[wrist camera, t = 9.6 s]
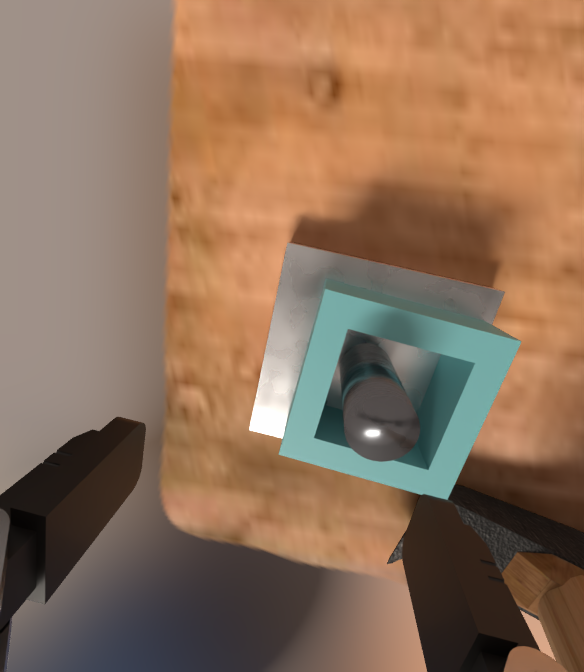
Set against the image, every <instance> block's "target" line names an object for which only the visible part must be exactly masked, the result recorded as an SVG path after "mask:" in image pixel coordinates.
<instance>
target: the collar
mask: <svg viewBox="0 0 584 672" xmlns="http://www.w3.org/2000/svg"><path fill="white" fill-rule="evenodd" d="M348 329H351V330H354V331H358V332H362V333H365V334H369V335H373V336H377V337H380V338H384V339H388V340H391V341H395V342H399V343H402V344H406V345H410V346H414V347H417V348H421V349H425V350H428V351H432V352H436V353H439V354H441V356H440V358H439V361H438V363H437V366H436V368H435V371H434V373H433V376H432V378H431V381H430V383H429V386H428V388H427V391H426V393H425V396H424V398H423V401H422V403H421V406H420V408H419V411H418V413H417V416H418V419H419V422H420V434H419V438H418V440H417V443H416V444H415V446H414V447H413V448H412V449H411V450H410V451H409V452H408V453H407V454H405V455H404V456H402V457H400V458H398V459H395V460H392V461H385V462H379V461H372V460H369V459H366V458H364V457H362V456H360V455H358V454H357V453H356V452H355V451H354V450H353V449H352V448H351V447H350V446H349V444H348V442H347V440H346V437H345V433H344V420H343V410H341V409H338V408H334V407H330V406H327V405H324V404H325V401H326V398H327V394H328V391H329V388H330V385H331V382H332V378H333V375H334V372H335V369H336V366H337V362H338V359H339V356H340V353H341V349H342V346H343V343H344V340H345V337H346V333H347V330H348ZM520 344H521V341H520V340H518V339H516V338H514V337H512V336H511V335H509V334H507V333H505V332H504V331H502V330H500V329H498V328H496V327H495V326H493V325H491V324H489V323H487V322H486V321H484V320H480V319H476V318H472V317H469V316H465V315H461V314H457V313H454V312H450V311H446V310H442V309H439V308H435V307H431V306H427V305H424V304H420V303H416V302H412V301H409V300H405V299H401V298H397V297H394V296H390V295H386V294H382V293H379V292H375V291H371V290H367V289H364V288H360V287H356V286H353V285H349V284H345V283H341V282H338V281H334V280H330V279H326V281H325V284H324V288H323V292H322V295H321V299H320V302H319V306H318V309H317V313H316V317H315V320H314V324H313V327H312V331H311V334H310V338H309V342H308V345H307V349H306V352H305V356H304V360H303V363H302V367H301V370H300V374H299V377H298V381H297V385H296V388H295V392H294V395H293V399H292V403H291V406H290V410H289V413H288V417H287V421H286V425H285V430H284V434H283V438H282V443H281V447H280V451H279V455H282V456H286V457H289V458H293V459H296V460H300V461H303V462H307V463H311V464H314V465H318V466H321V467H325V468H328V469H332V470H335V471H339V472H342V473H346V474H350V475H353V476H357V477H360V478H364V479H367V480H371V481H374V482H378V483H381V484H385V485H389V486H392V487H396V488H399V489H403V490H406V491H410V492H413V493H417V494H421V495H422V494H426V495H430V496H434V497H438V498H442V499H446V500H448V497H449V495H450V493H451V491H452V489H453V487H454V485H455V483H456V480H457V478H458V476H459V474H460V472H461V470H462V468H463V465H464V463H465V461H466V459H467V457H468V455H469V453H470V451H471V448H472V446H473V444H474V442H475V440H476V438H477V436H478V433H479V431H480V429H481V427H482V425H483V423H484V421H485V418H486V416H487V414H488V412H489V410H490V408H491V406H492V404H493V401H494V399H495V397H496V395H497V393H498V391H499V389H500V386H501V384H502V382H503V380H504V378H505V376H506V374H507V371H508V369H509V367H510V365H511V363H512V361H513V359H514V357H515V354H516V352H517V350H518V348H519V346H520Z"/></svg>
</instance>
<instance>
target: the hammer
mask: <svg viewBox="0 0 584 672" xmlns="http://www.w3.org/2000/svg"><path fill="white" fill-rule="evenodd" d="M448 500H450V501H452V502H453V503H454V505H455V506H456V509H457V511H458V513H459V515H460V517H461V519H462V522H463V524H466V525H470V526H471V527H472V528H473V529H474V530H475V532H476V533H477V534H478V535H479V536H480V537H481V538H482V540H483V541H484V542H485V543H486V544H487V546H488V548H489V550H490V552H491V554H492V556H493V558H494V560H495V562H496V567H498V568H499V570H500V572H501V574H502V576H503V578H504V583H505V584H507V586H508V588H509V590H510V592H511V594H512V596H513V598H514V600H515V602H516V604H517V605H518V607H519V609H520V610H521V611H523V612H525V613H527V614H529V615H531V616H533V617H534V618H536V619H538V620H540V622H541V624H542V627H543V629H544V632H545V634H546V637H547V639H548V642H549V644H550V647H551V649H552V652H553V654H554V657H555V659H556V661H557V662H558V663H559V664H560V665H561V666H562V667H564V668H565V669H566V670H567V671H568V672H584V533H583V532H580V531H578V530H576V529H574V528H571V527H569V526H566V525H563V524H561V523H558V522H556V521H553V520H550V519H548V518H545V517H543V516H540V515H537V514H535V513H532V512H529V511H527V510H524V509H522V508H519V507H516V506H514V505H511V504H508V503H506V502H503V501H501V500H498V499H495V498H493V497H490V496H488V495H485V494H482V493H480V492H477V491H475V490H472V489H469V488H467V487H464V486H459V485H454V487H453V489H452V491H451V493H450V495H449V497H448ZM405 533H406V532H405ZM405 533H404V535H403V536H402V538H401V540H400V541H399V543H398V545H397V546H396V548H395V550H394V551H393V553H392V555H391V556H390V558H389V560H388V562H387V564H390V563H393V562H395V561H397V560H399V559H402V545H403V539H404V536H405Z"/></svg>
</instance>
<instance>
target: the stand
mask: <svg viewBox="0 0 584 672" xmlns="http://www.w3.org/2000/svg"><path fill="white" fill-rule="evenodd" d="M326 279H330V280H334V281H338V282H341V283H345V284H349V285H353V286H356V287H360V288H364V289H367V290H371V291H375V292H379V293H382V294H386V295H390V296H394V297H397V298H401V299H405V300H409V301H412V302H416V303H420V304H424V305H427V306H431V307H435V308H439V309H442V310H446V311H450V312H454V313H457V314H461V315H465V316H469V317H472V318H476V319H480V320H484V321H486V322H487V323H489V324H491V325H492V323H493V321H494V318H495V316H496V313H497V311H498V308H499V306H500V303H501V300H502V298H503V295H504V293H505V292H504V291H501V290H498V289H495V288H491V287H487V286H483V285H478V284H474V283H469V282H465V281H461V280H456V279H452V278H447V277H443V276H438V275H434V274H430V273H425V272H421V271H416V270H412V269H408V268H403V267H399V266H394V265H390V264H385V263H381V262H377V261H372V260H368V259H363V258H359V257H355V256H350V255H346V254H341V253H337V252H332V251H328V250H324V249H319V248H315V247H310V246H306V245H302V244H297V243H293V242H288V243H287V247H286V252H285V257H284V262H283V267H282V272H281V277H280V282H279V287H278V291H277V296H276V301H275V306H274V311H273V316H272V321H271V326H270V331H269V336H268V340H267V345H266V350H265V355H264V360H263V365H262V370H261V375H260V380H259V385H258V389H257V394H256V399H255V404H254V409H253V414H252V419H251V424H250V429H249V430H251V431H255V432H259V433H263V434H268V435H272V436H276V437H280V438H283V434H284V430H285V425H286V421H287V417H288V413H289V410H290V406H291V403H292V399H293V395H294V392H295V388H296V385H297V381H298V377H299V374H300V370H301V367H302V363H303V360H304V356H305V352H306V349H307V345H308V342H309V338H310V334H311V331H312V327H313V324H314V320H315V317H316V313H317V309H318V306H319V302H320V299H321V295H322V292H323V288H324V284H325V281H326ZM440 356H441V354H439V353H436V352H432V351H428V350H425V349H421V348H417V347H414V346H410V345H406V344H402V343H399V342H395V341H391V340H388V339H384V338H380V337H377V336H373V335H369V334H365V333H362V332H358V331H354V330H351V329H348V330H347V333H346V337H345V340H344V343H343V346H342V349H341V353H340V356H339V359H338V362H337V366H336V369H335V372H334V375H333V378H332V382H331V385H330V388H329V391H328V394H327V398H326V401H325V404H324V405H327V406H330V407H334V408H338V409H341V410H343V420H344V433H345V437H346V440H347V442H348V444H349V446H350V447H351V448H352V449H353V450H354V451H355V452H356V453H357V454H358V455H360V456H362V457H364V458H366V459H369V460H372V461H379V462H385V461H392V460H395V459H398V458H400V457H402V456H404V455H405V454H407V453H408V452H409V451H410V450H411V449H412V448H413V447H414V446H415V444H416V443H417V440H418V438H419V434H420V422H419V419H418V416H417V413H418V411H419V408H420V406H421V403H422V401H423V398H424V396H425V393H426V391H427V388H428V386H429V383H430V381H431V378H432V376H433V373H434V371H435V368H436V366H437V363H438V361H439V358H440Z"/></svg>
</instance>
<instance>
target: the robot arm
mask: <svg viewBox="0 0 584 672" xmlns="http://www.w3.org/2000/svg"><path fill="white" fill-rule="evenodd" d="M145 432H146V427H145V424H144V423H141V422H138V421H133V420H130V419H126V418H122V417H116V418H115V419H113V420H112V421H111V422H110V423H109V424H107V425H106V426H105V427H104V428H103V429H102V430H100V431H96V430H90V431H88V432H86V433H83V434H81V435H79V436H76V437H74V438H72V439H71V440H69V441H68V442H67V443H66V444H64V445H63V446H62V447H61V448H59V449H58V450H57V452H56V453H53V454H52V455H50V456H49V457H48V458H47V459H45V460H44V462H43V464H42V463H40V464H39V465H38V466H37V467H36V468H34V469H33V470H31V471H30V472H29V473H28V474H27V475H25V476H24V477H23V478H21V479H20V480H19V481H18V482H16V483H15V484H14V485H13V486H11V487H10V488H9V489H7V490H6V491H5V492H4V493H2V494H1V495H0V672H7V664H8V656H9V647H10V638H11V629H12V616H13V615H14V614H15V612H16V611H17V610H18V609H19V608H20V606H21V605H22V604H23V603H24V602H25V600H26V599H27V600H31V601H34V602H38V603H42V604H46V602H47V601H48V600H49V599H50V597H51V596H52V595H53V593H54V592H55V591H56V589H57V588H58V587H59V586H60V584H61V583H62V581H63V580H64V579H65V578H66V576H67V575H68V574H69V572H70V571H71V570H72V569H73V567H74V566H75V564H76V563H77V562H78V561H79V560H80V558H81V557H82V556H83V554H84V553H85V552H86V550H87V549H88V548H89V547H90V545H91V544H92V543H93V541H94V540H95V539H96V537H97V536H98V535H99V533H100V532H101V531H102V530H103V528H104V527H105V526H106V524H107V523H108V522H109V521H110V519H111V518H112V517H113V515H114V514H115V513H116V511H117V510H118V509H119V508H120V506H121V505H122V504H123V502H124V501H125V500H126V498H127V497H128V496H129V494H130V493H131V492H132V491H133V489H134V487H135V485H136V484H137V481H138V479H139V476H140V473H141V469H142V460H143V451H144V440H145ZM402 560H403V565H404V569H405V574H406V578H407V583H408V587H409V592H410V596H411V601H412V605H413V610H414V614H415V619H416V623H417V627H418V632H419V637H420V641H421V646H422V650H423V655H424V658H425V663H426V668H427V672H568V671H567V670H566V669H565V668H564V667H562V666H561V665H560V664H559V663H558V662H557V661H555V660H554V659H552V658H551V657H550V656H548V655H546V654H544V653H543V652H541V651H540V649H539V647H538V645H537V643H536V641H535V639H534V637H533V636H532V633H531V631H530V629H529V627H528V625H527V623H526V621H525V619H524V617H523V615H522V614H521V611H520V609H519V607H518V605H517V604H516V602H515V600H514V598H513V596H512V594H511V592H510V590H509V588H508V586H507V584H505V583H504V578H503V576H502V574H501V572H500V570H499V568H498V567H496V562H495V560H494V558H493V556H492V554H491V552H490V550H489V548H488V546H487V544H486V543H485V542H484V541H483V540H482V538H481V537H480V536H479V535H478V534H477V533H476V532H475V530H474V529H473V528H472V527H471V526H470V525H466V524H463V522H462V519H461V517H460V515H459V513H458V511H457V509H456V506H455V505H454V503H453V502H452V501H450V500H446V499H442V498H438V497H434V496H430V495H426V494H422V495H421V496H420V498H419V500H418V502H417V505H416V507H415V510H414V512H413V515H412V518H411V520H410V523H409V525H408V528H407V530H406V533H405V536H404V539H403V545H402Z"/></svg>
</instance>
